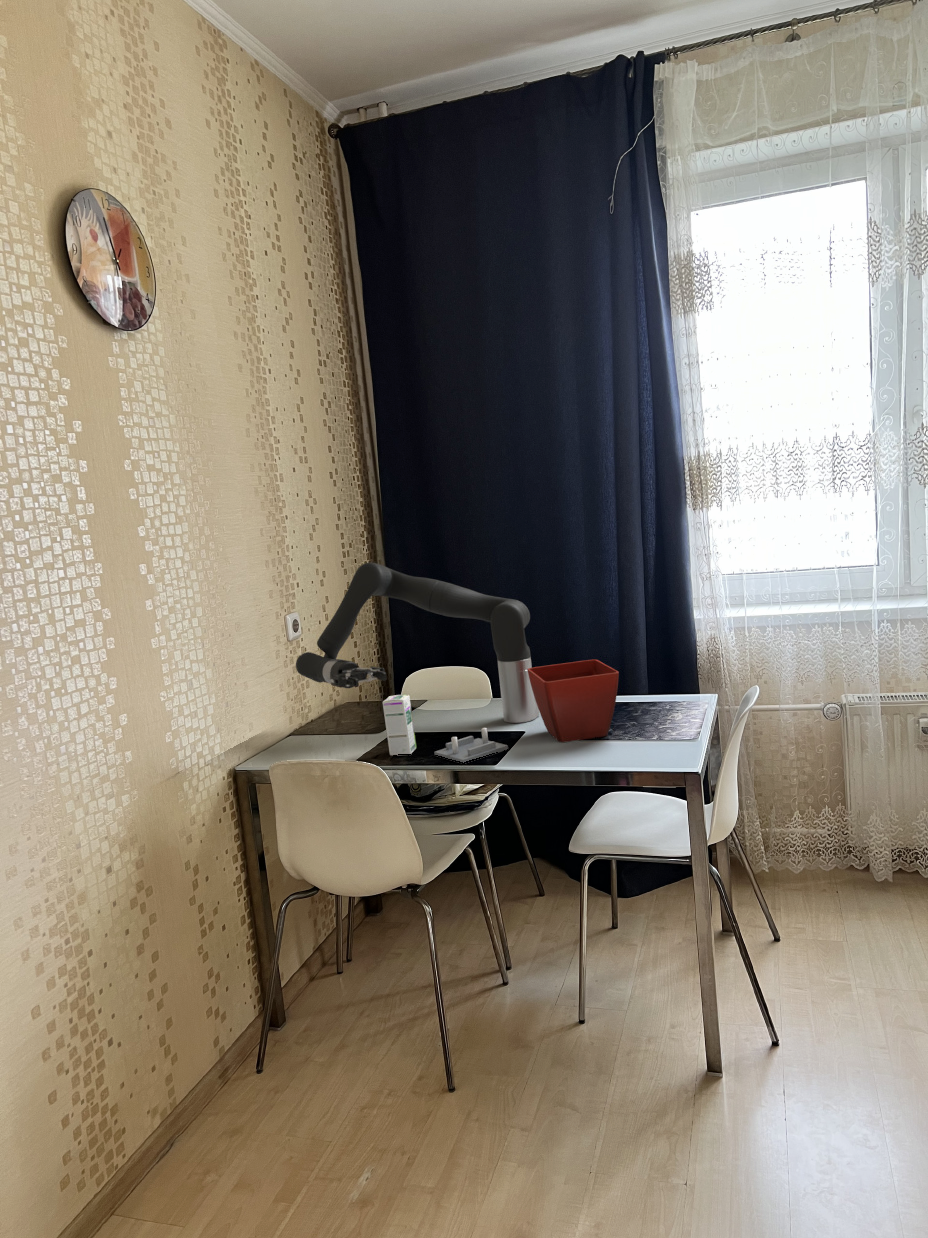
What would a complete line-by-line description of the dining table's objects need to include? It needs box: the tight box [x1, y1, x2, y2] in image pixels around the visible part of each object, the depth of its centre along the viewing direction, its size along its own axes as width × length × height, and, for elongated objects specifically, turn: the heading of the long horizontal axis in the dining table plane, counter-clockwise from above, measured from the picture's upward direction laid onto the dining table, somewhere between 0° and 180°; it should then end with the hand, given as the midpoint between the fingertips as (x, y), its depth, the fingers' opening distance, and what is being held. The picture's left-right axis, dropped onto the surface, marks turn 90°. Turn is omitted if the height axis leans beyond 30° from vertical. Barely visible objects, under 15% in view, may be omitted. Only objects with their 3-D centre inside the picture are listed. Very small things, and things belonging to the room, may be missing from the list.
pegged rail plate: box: [434, 727, 509, 763], centre depth 226 cm, size 14×12×5 cm
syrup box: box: [382, 694, 417, 756], centre depth 232 cm, size 6×6×14 cm
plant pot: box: [527, 659, 620, 743], centre depth 231 cm, size 19×19×17 cm
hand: (371, 679), depth 239 cm, fingers open, 8 cm apart
